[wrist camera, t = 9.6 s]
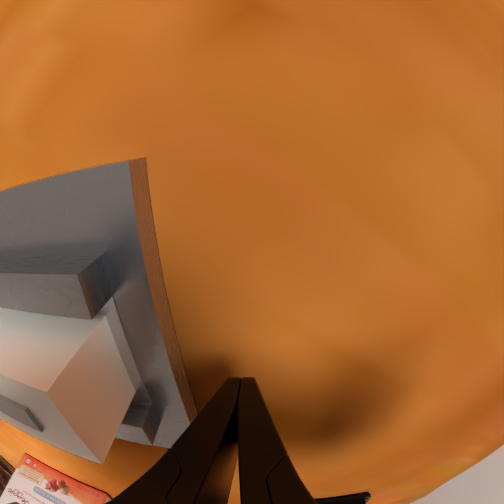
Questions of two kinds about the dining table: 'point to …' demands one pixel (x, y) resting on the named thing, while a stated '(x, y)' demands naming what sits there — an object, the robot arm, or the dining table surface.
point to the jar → (5, 474)
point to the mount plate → (100, 280)
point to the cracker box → (47, 486)
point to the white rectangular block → (63, 381)
